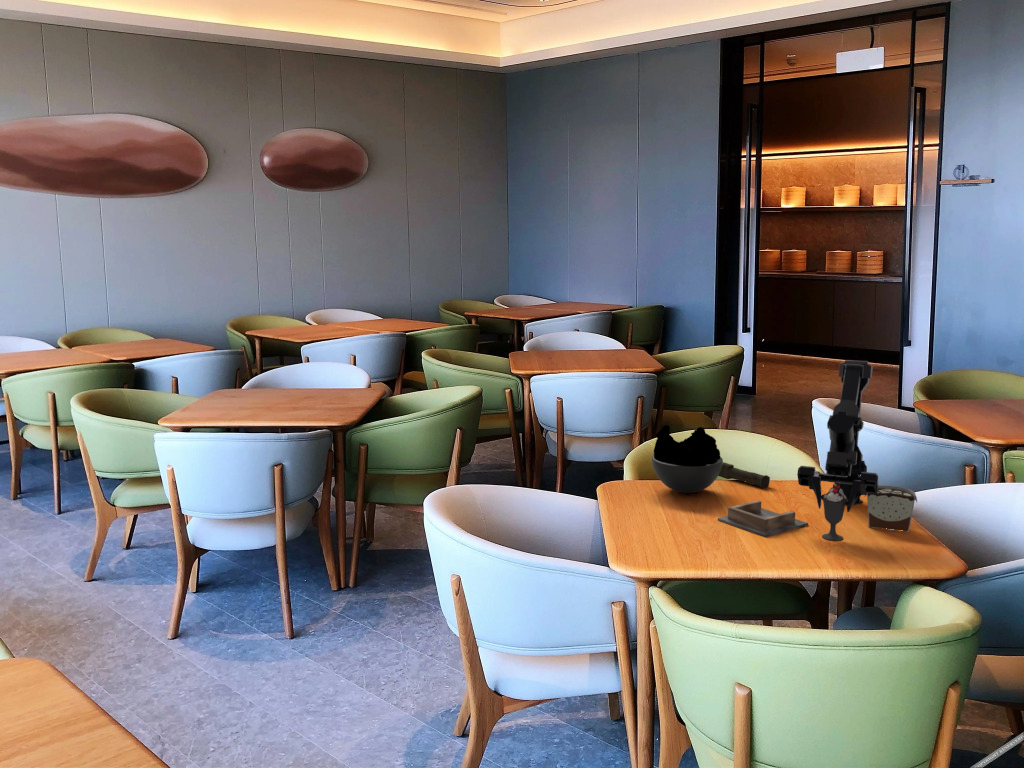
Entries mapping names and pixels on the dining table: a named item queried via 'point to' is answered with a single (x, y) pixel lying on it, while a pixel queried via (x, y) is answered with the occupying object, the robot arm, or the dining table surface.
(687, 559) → the dining table surface
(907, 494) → the food container
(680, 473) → the coal bowl
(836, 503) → the sundae
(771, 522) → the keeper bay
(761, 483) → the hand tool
